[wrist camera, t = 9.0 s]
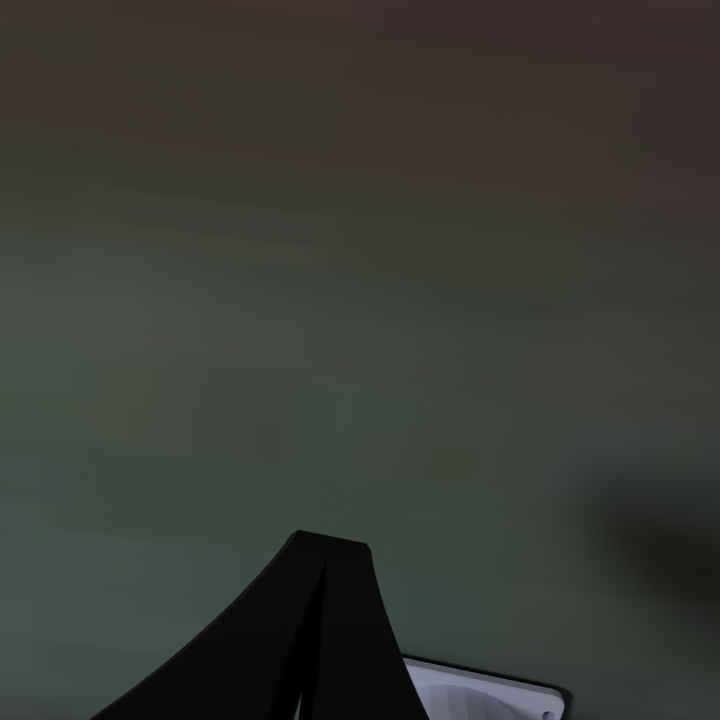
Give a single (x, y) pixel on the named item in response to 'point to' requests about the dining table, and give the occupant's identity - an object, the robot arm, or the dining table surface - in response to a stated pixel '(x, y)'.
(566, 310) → the dining table surface
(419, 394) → the dining table surface
